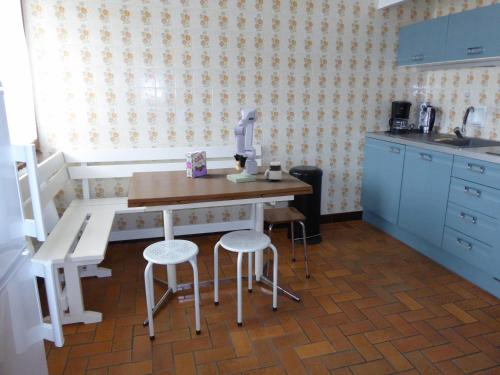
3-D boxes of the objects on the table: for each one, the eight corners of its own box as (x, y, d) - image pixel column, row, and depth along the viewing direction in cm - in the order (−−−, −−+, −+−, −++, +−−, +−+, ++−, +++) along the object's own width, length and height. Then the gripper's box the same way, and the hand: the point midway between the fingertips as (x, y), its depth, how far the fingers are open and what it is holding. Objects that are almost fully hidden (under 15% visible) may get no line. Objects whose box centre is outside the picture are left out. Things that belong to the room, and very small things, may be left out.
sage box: (246, 177, 257) (245, 172, 256) (255, 181, 245) (255, 176, 244) (226, 179, 251) (226, 175, 250) (235, 183, 239) (235, 179, 238)
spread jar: (280, 182, 239) (280, 163, 236) (262, 181, 241) (262, 163, 239) (282, 178, 251) (282, 160, 248) (265, 177, 253) (265, 160, 250)
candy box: (192, 178, 253) (191, 153, 249) (186, 177, 257) (185, 152, 253) (207, 174, 264) (206, 150, 260) (200, 173, 267) (200, 150, 263)
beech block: (242, 168, 250) (242, 160, 248) (245, 169, 245) (245, 161, 244) (235, 168, 247) (235, 161, 246) (238, 170, 243) (238, 162, 242)
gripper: (229, 144, 247) (230, 165, 251) (239, 147, 235) (239, 169, 238) (239, 143, 250) (240, 164, 254) (249, 146, 238) (250, 168, 241)
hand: (240, 166), depth 246 cm, fingers closed on beech block, 5 cm apart
